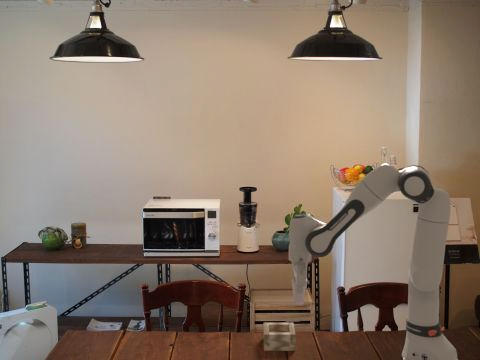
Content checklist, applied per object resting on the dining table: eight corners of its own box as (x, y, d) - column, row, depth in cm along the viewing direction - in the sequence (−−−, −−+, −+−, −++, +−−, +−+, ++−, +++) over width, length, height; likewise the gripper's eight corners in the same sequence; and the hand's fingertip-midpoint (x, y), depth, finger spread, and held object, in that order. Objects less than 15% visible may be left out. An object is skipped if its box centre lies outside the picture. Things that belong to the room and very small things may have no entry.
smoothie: (306, 307, 240) (307, 271, 238) (289, 305, 241) (290, 270, 239) (307, 301, 246) (308, 266, 244) (291, 299, 248) (292, 265, 245)
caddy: (293, 337, 252) (293, 322, 251) (295, 350, 240) (295, 334, 239) (263, 338, 252) (263, 322, 251) (264, 350, 240) (264, 334, 239)
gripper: (310, 263, 230) (309, 299, 233) (305, 248, 251) (305, 281, 253) (293, 263, 231) (292, 299, 233) (290, 248, 251) (289, 281, 253)
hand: (299, 290), depth 243 cm, fingers closed on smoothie, 5 cm apart
